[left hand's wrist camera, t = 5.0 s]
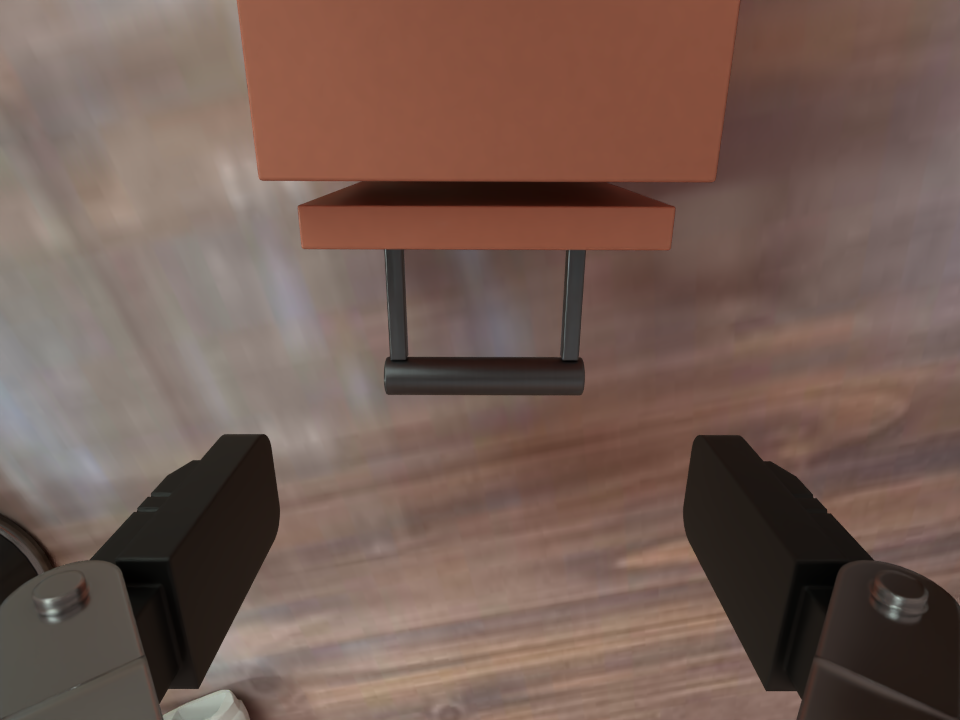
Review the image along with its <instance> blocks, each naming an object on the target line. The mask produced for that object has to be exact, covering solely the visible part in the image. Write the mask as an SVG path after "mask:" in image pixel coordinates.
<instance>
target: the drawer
mask: <svg viewBox="0 0 960 720" xmlns="http://www.w3.org/2000/svg"><path fill="white" fill-rule="evenodd" d="M298 216H299V225H300V235H301V245H302V248H303V249H384V252H385V271H386V289H387V308H388V327H389V345H390V357H387V358H386V361H385V367H384V386H385V391H386V394H388V395H582V393H583V390H584V383H585V370H584V363H583V360H582V358H580V357H579V345H580V330H581V315H582V300H583V285H584V270H585V255H586V250H670V249H671V243H672V234H673V226H674V217H675V207H674V206H671V205H668V204H665V203H663V202H660V201H657V200H654V199H651V198H649V197H646V196H643V195H640V194H637V193H635V192H632V191H629V190H626V189H623V188H620V187H618V186H615V185H612V184H609V183H606V182H409V181H362V182H359V183H357V184H354V185H351V186H349V187H346V188H343V189H341V190H338V191H336V192H333V193H330V194H328V195H325V196H322V197H320V198H317V199H314V200H312V201H309V202H306V203H304V204H301V205H299V206H298ZM404 249H435V250H566V261H565V279H564V297H563V315H562V333H561V351H560V355H561V357H407V356H408V336H407V313H406V289H405V265H404Z"/></svg>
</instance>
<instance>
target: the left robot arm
mask: <svg viewBox="0 0 960 720" xmlns="http://www.w3.org/2000/svg"><path fill="white" fill-rule="evenodd" d="M137 509H138V510H137V512H134V513H133V514H132V515H131V516H130V517H129V518H128V519H127V520H126V521H125V522H124V523H123V524H122V525H121V527H120V528H119V529H118V530H117V531H116V532H115V533H114V534H113V535H112V536H111V537H110V538H109V540H108V541H107V542H106V543H105V544H104V545H103V546H102V547H101V548H100V549H99V550H98V551H97V553H96V554H95V555H94V556H93V557H92V558H91V559H90V560H87V561H79V562H74V563H70V564H66V565H63V566H59V567H56V568H54V569H53V568H52V565H51V563H50V561H49V559H48V558H47V556H46V554H45V553H44V551H43V550H42V549H41V547H40V546H39V545H38V544H37V543H36V541H35V540H34V539H33V538H32V537H31V536H30V535H29V534H28V533H26V532H25V531H24V530H23V529H22V528H20V527H19V526H17V525H16V524H15V523H13V522H12V521H10V520H8V519H7V518H5V517H3V516H1V515H0V720H164V719H163V716H162V712H161V709H160V705H159V704H160V702H161V700H162V699H163V697H164V695H165V693H166V692H167V690H168V689H199V687H200V685H201V683H202V681H203V679H204V677H205V675H206V673H207V671H208V669H209V667H210V665H211V663H212V661H213V659H214V657H215V656H216V654H217V652H218V650H219V648H220V646H221V644H222V642H223V640H224V638H225V636H226V634H227V632H228V630H229V628H230V626H231V624H232V622H233V620H234V618H235V616H236V614H237V612H238V610H239V609H240V607H241V605H242V603H243V601H244V599H245V597H246V595H247V593H248V591H249V589H250V587H251V585H252V583H253V581H254V579H255V577H256V575H257V573H258V571H259V569H260V567H261V565H262V563H263V561H264V560H265V558H266V556H267V554H268V552H269V550H270V548H271V546H272V544H273V542H274V540H275V538H276V535H277V531H278V526H279V519H280V505H279V498H278V491H277V484H276V477H275V470H274V462H273V455H272V448H271V444H270V440H269V438H268V437H267V436H266V435H265V434H224V435H222V436H221V437H220V438H219V439H218V440H217V442H216V443H215V444H214V445H213V446H212V447H211V449H210V450H209V451H208V452H207V453H206V454H205V455H204V457H203V458H202V459H201V460H193V461H191V462H189V463H188V464H186V465H184V466H183V467H181V468H179V469H178V470H176V471H174V472H173V473H171V474H169V475H168V476H167V477H166V478H165V479H164V480H163V481H162V482H161V483H160V484H159V485H158V487H157V488H156V489H155V490H154V491H153V492H152V493H151V497H147V498H146V500H145V501H144V502H143V503H142V504H141V505H140V506H139V507H138V508H137ZM683 519H684V527H685V532H686V535H687V538H688V541H689V543H690V545H691V547H692V549H693V551H694V552H695V554H696V556H697V558H698V560H699V562H700V564H701V566H702V568H703V570H704V572H705V574H706V576H707V578H708V580H709V581H710V583H711V585H712V587H713V589H714V591H715V593H716V595H717V597H718V599H719V601H720V603H721V605H722V607H723V609H724V611H725V612H726V614H727V616H728V618H729V620H730V622H731V624H732V626H733V628H734V630H735V632H736V634H737V636H738V638H739V640H740V642H741V643H742V645H743V647H744V649H745V651H746V653H747V655H748V657H749V659H750V661H751V663H752V665H753V667H754V669H755V671H756V672H757V674H758V676H759V678H760V680H761V682H762V684H763V686H764V688H765V690H766V691H797V692H798V694H799V696H800V697H801V699H802V702H801V705H800V709H799V712H798V716H797V719H796V720H960V606H959V604H958V603H957V602H956V600H955V599H954V598H953V597H952V596H951V595H950V594H949V593H948V592H946V591H945V590H944V589H943V588H942V587H940V586H939V585H937V584H936V583H934V582H933V581H931V580H929V579H928V578H926V577H924V576H922V575H920V574H918V573H916V572H914V571H911V570H909V569H906V568H904V567H901V566H897V565H894V564H890V563H886V562H881V561H874V560H873V559H872V557H871V556H870V555H869V554H868V553H867V552H866V551H865V550H864V549H863V548H862V547H861V546H860V545H859V543H858V542H857V541H856V540H855V539H854V538H853V537H852V536H851V535H850V534H849V533H848V532H847V531H846V530H845V528H844V527H843V526H842V525H841V524H840V523H839V522H838V521H837V520H836V519H835V518H834V517H833V516H832V514H828V513H827V509H826V508H825V507H824V506H823V505H822V504H821V503H820V502H819V501H818V499H817V498H813V494H812V493H811V492H810V491H809V490H808V489H807V488H806V487H805V486H804V484H803V483H802V482H801V481H800V480H799V479H798V478H797V477H796V476H794V475H793V474H791V473H789V472H788V471H786V470H784V469H783V468H781V467H779V466H778V465H776V464H774V463H773V462H771V461H763V460H762V459H761V458H760V457H759V456H758V454H757V453H756V452H755V451H754V450H753V449H752V448H751V446H750V445H749V444H748V443H747V442H746V441H745V440H744V438H742V437H741V436H739V435H699V436H697V437H696V438H695V440H694V442H693V445H692V451H691V458H690V465H689V472H688V479H687V485H686V492H685V499H684V507H683Z"/></svg>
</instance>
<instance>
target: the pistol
mask: <svg viewBox="0 0 960 720" xmlns="http://www.w3.org/2000/svg"><path fill="white" fill-rule="evenodd" d="M163 719H164V720H250V718H249V714H248V712H247V710H246V708H245V706H244V704H243V702H242V700H238V699H237V698H236V697H235V695H234V694H233V692H232V691H230V690H219V691H217V692H214V693H211V694H209V695H206V696H203V697H201V698H198V699H196V700H193V701H191V702H188V703H186V704H184V705H182V706H180V707H178V708H176V709H174V710H172V711H170V712H168V713H166V714H164V715H163Z"/></svg>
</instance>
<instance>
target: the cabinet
mask: <svg viewBox="0 0 960 720" xmlns="http://www.w3.org/2000/svg"><path fill="white" fill-rule="evenodd" d="M740 1H741V0H237V6H238V14H239V22H240V30H241V38H242V46H243V54H244V62H245V70H246V78H247V86H248V95H249V103H250V111H251V119H252V127H253V135H254V143H255V151H256V159H257V167H258V175H259V179H260V180H262V181H488V182H714V181H715V179H716V174H717V166H718V159H719V152H720V145H721V138H722V130H723V123H724V116H725V109H726V102H727V94H728V87H729V80H730V73H731V66H732V58H733V51H734V44H735V37H736V30H737V22H738V15H739V8H740Z"/></svg>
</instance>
